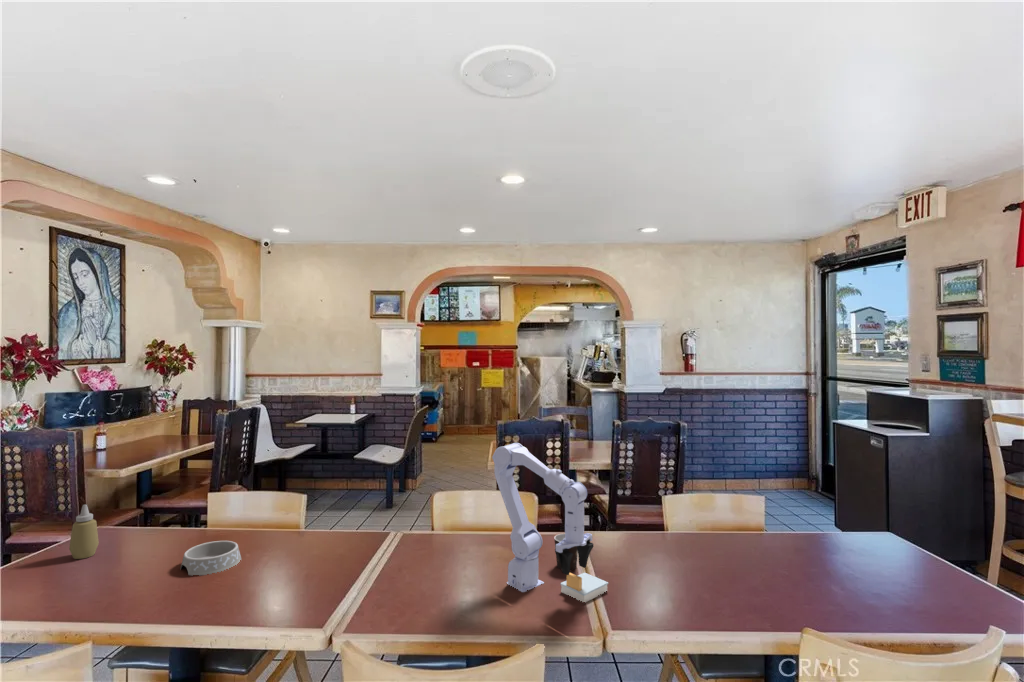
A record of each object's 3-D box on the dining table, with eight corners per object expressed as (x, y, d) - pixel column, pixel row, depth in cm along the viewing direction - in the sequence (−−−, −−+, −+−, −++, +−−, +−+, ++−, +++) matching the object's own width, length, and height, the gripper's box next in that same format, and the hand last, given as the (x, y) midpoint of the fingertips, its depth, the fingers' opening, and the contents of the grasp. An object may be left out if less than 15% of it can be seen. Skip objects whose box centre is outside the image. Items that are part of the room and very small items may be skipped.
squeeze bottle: (85, 561, 179) (86, 508, 179) (62, 560, 179) (63, 508, 179) (104, 551, 187) (105, 501, 187) (82, 551, 187) (83, 501, 187)
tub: (584, 604, 152) (584, 595, 152) (561, 593, 158) (561, 584, 159) (607, 592, 159) (607, 584, 159) (584, 582, 166) (584, 574, 166)
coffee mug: (571, 575, 171) (571, 545, 171) (549, 568, 176) (549, 538, 176) (588, 563, 180) (588, 534, 180) (566, 557, 185) (567, 529, 185)
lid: (584, 598, 152) (584, 581, 152) (560, 587, 159) (560, 571, 159) (608, 586, 159) (608, 570, 159) (584, 576, 166) (584, 561, 166)
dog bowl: (195, 581, 165) (195, 564, 165) (172, 566, 176) (172, 550, 176) (249, 563, 179) (249, 547, 179) (224, 550, 190) (225, 535, 190)
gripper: (568, 534, 148) (568, 581, 148) (600, 522, 158) (600, 567, 158) (550, 527, 153) (550, 573, 153) (582, 516, 163) (582, 560, 163)
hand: (574, 570), depth 156 cm, fingers open, 7 cm apart
